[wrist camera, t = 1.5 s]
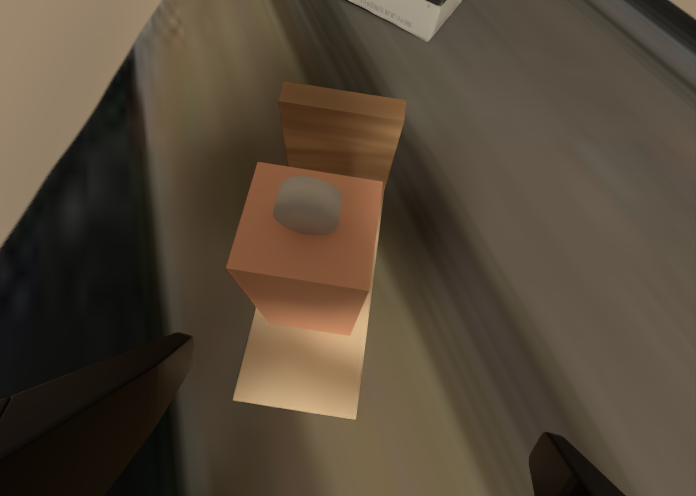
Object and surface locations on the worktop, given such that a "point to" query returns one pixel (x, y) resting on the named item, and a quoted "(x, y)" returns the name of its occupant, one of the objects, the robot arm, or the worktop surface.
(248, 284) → the slider
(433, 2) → the tea box
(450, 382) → the worktop surface
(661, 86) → the worktop surface
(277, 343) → the track
